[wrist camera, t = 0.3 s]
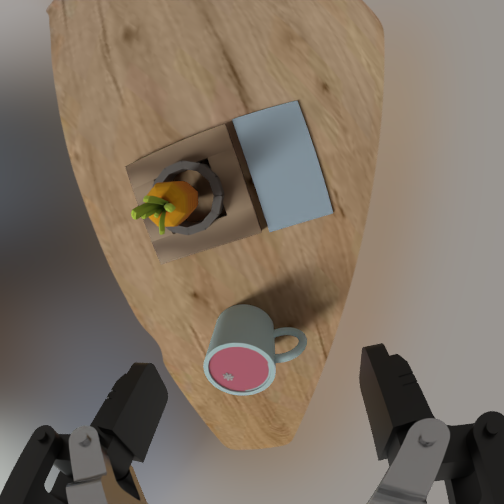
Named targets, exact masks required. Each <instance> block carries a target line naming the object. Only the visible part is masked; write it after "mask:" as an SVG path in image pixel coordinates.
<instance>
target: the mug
mask: <svg viewBox="0 0 504 504" xmlns="http://www.w3.org/2000/svg"><path fill="white" fill-rule="evenodd" d="M282 335H292V336H295V337H297V338H298V339H299V343H298V345H297V346H296V347H295V348H294V349H292V350H291V351H289V352H286V353H282V354H275V342H274V338H275V337H278V336H282ZM306 345H307V338H306V336H305V334H304V333H303V332H302V331H301V330H299V329H297V328H292V327H284V328H278V329H275V330H274V325H273V322H272V320H271V318H270V317H269V316H268V314H267V313H266V312H264V311H263V310H262V309H260V308H258V307H255V306H252V305H247V304H240V305H234V306H231V307H229V308H227V309H226V310H224V311H223V312H222V313H221V314H220V316H219V317H218V319H217V322H216V325H215V329H214V332H213V335H212V338H211V341H210V344H209V348H208V351H207V354H206V357H205V360H204V373H205V375H206V377H207V379H208V380H209V381H210V382H211V384H213V385H214V386H215V387H216V388H218V389H219V390H221V391H224V392H226V393H229V394H233V395H252V394H256V393H259V392H261V391H263V390H265V389H266V388H267V387H268V386H270V384H271V383H272V382H273V380H274V377H275V373H276V369H275V363H281V362H286V361H290V360H292V359H294V358H296V357H297V356H299V355H300V354H301V353H302V352H303V351H304V349H305V347H306Z"/></svg>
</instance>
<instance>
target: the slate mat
mask: <svg viewBox="0 0 504 504" xmlns="http://www.w3.org/2000/svg"><path fill="white" fill-rule="evenodd" d="M232 121H233V124H234V127H235V129H236V132H237V135H238V138H239V141H240V144H241V147H242V150H243V153H244V156H245V158H246V161H247V164H248V167H249V170H250V173H251V176H252V179H253V182H254V185H255V188H256V191H257V194H258V197H259V200H260V203H261V206H262V210H263V213H264V216H265V219H266V222H267V225H268V228H269V231H270V232H272V231H276V230H279V229H282V228H285V227H289V226H292V225H295V224H299V223H302V222H305V221H309V220H312V219H315V218H319V217H322V216H325V215H329V214H332V213H333V210H332V207H331V203H330V199H329V196H328V192H327V189H326V185H325V182H324V178H323V175H322V172H321V168H320V165H319V162H318V159H317V156H316V152H315V149H314V146H313V143H312V140H311V137H310V134H309V131H308V129H307V126H306V123H305V120H304V117H303V115H302V112H301V109H300V106H299V104H298V101H293V102H289V103H285V104H281V105H278V106H274V107H271V108H267V109H264V110H260V111H257V112H254V113H250V114H247V115H244V116H241V117H238V118H235V119H232Z"/></svg>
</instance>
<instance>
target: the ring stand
mask: <svg viewBox="0 0 504 504" xmlns="http://www.w3.org/2000/svg"><path fill="white" fill-rule="evenodd" d="M207 159H208V161H209V164H210V166H208V165H206V164H202V163H199V162H201V161H204V160H207ZM125 167H126V170H127V173H128V177H129V180H130V183H131V186H132V189H133V192H134V195H135V198H136V201H137V203H138V206H140V205H142V204H144V203H145V202H143V198H144V197H145V196H147V194H148V193H149V192H150V190H151V189H152V188H153V187H154V185H155V184H156V183H160V182H171V181H172V180H173V179H174V178H175V176H176V175H177V174H179V173H181V172H183V171H186V170H194V171H198V172H199V173H200V174H201V175H202V176H204V177H205V178H206V179H207V180H208V181H209V183H210V186H211V189H212V192H213V195H214V198H213V204H212V209H211V212H210V213H209V214H208V215H207V217H206V218H205V219H203V220H200V221H197V222H195V223H194V222H189V221H183V222H182V223H181V224H179V225H178V226H175V227H165V234H163V235H160V233H159V227H158V226H157V225H156V224H155V223H154V222H153V221H152V220H151V219H150V218H149V217H148V218H146V219H143V220H144V223H145V225H146V228H147V231H148V233H149V236H150V239H151V241H152V244H153V246H154V249H155V251H156V254H157V256H158V259H159V261H160V263H161V264H164V263H167V262H170V261H173V260H177V259H180V258H183V257H186V256H189V255H192V254H195V253H198V252H201V251H205V250H208V249H211V248H214V247H217V246H220V245H224V244H227V243H230V242H233V241H236V240H240V239H243V238H246V237H249V236H252V235H256V234H259V233H261V232H262V230H261V227H260V224H259V221H258V218H257V215H256V212H255V209H254V206H253V203H252V200H251V197H250V194H249V191H248V188H247V185H246V182H245V179H244V176H243V173H242V170H241V167H240V164H239V161H238V158H237V155H236V152H235V149H234V146H233V143H232V141H231V138H230V135H229V132H228V129H227V126H226V125H225V124H223V125H220V126H217V127H215V128H212V129H209V130H207V131H204V132H201V133H199V134H196V135H194V136H191V137H189V138H186V139H184V140H181V141H179V142H177V143H174V144H172V145H170V146H167V147H165V148H163V149H161V150H159V151H156V152H154V153H152V154H150V155H148V156H146V157H144V158H142V159H139V160H137V161H135V162H133V163H131V164H129V165H127V166H125ZM224 207H225V210H226V213H227V215H224V216H221V217H218V216H219V215H220V214H221V213H222V211H223V208H224ZM217 217H218V218H217Z"/></svg>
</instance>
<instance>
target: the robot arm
mask: <svg viewBox="0 0 504 504" xmlns="http://www.w3.org/2000/svg"><path fill="white" fill-rule="evenodd" d="M359 379H360V388H361V392H362V396H363V400H364V403H365V407H366V411H367V414H368V418H369V422H370V426H371V430H372V434H373V438H374V443H375V447H376V451H377V455H378V460H383V459H387V458H388V463H389V469H388V470H387V472H386V474H385V475H384V477H383V479H382V481H381V482H380V484H379V486H378V487H377V489H376V490H375V492H374V494H373V495H372V497H371V498H370V500H369V501H368V503H367V504H427V502H426V498H427V495H428V493H429V491H430V489H431V487H432V484H433V482H434V481H440V480H444V481H445V485H446V490H447V495H448V500H449V504H504V416H503V415H502V414H501V413H498V412H494V411H493V412H492V411H490V412H486V413H484V414H483V415H481V416H480V417H479V418H478V419H477V421H476V422H475V423H473V424H465V425H457V426H450V425H446V424H445V423H444V422H442V421H440V420H438V419H435V417H434V416H433V414H432V412H431V410H430V408H429V406H428V404H427V401H426V399H425V397H424V395H423V393H422V390H421V388H420V386H419V384H418V383H417V380H416V378H415V376H414V375H413V372H412V370H411V368H410V366H409V364H408V362H407V361H406V360H404V359H403V358H402V357H401V356H400V355H398V354H395V355H391V356H389V354H388V352H387V350H386V348H385V346H384V345H383V344H382V343H381V344H377V345H372V346H367V347H363V348H362V355H361V366H360V377H359ZM167 400H168V393H167V389H166V387H165V385H164V383H163V381H162V379H161V377H160V375H159V373H158V371H157V370H156V368H155V366H154V365H153V364H152V363H134V364H133V365H132V366H131V368H130V370H129V371H128V373H127V374H124V375H123V376H122V377H121V378H120V379H119V380H117V381H116V383H115V385H114V386H113V388H112V389H111V392H110V393H109V394H108V396H107V399H105V401H104V403H103V405H102V406H101V408H100V410H99V411H98V413H97V415H96V416H95V418H94V420H93V422H92V423H91V425H90V426H81V427H79V428H77V429H75V430H74V431H73V432H72V434H58V433H57V432H56V431H55V430H54V429H53V428H52V427H51V426H48V425H43V426H41V427H39V428H37V429H36V430H35V431H34V433H33V434H32V436H31V438H30V440H29V441H28V443H27V445H26V446H25V448H24V450H23V452H22V453H21V455H20V457H19V459H18V461H17V463H16V465H15V467H14V468H13V470H12V472H11V474H10V476H9V478H8V480H7V482H6V484H5V486H4V489H3V490H2V493H1V495H0V504H148V503H147V501H146V499H145V497H144V495H143V492H142V490H141V487H140V485H139V482H138V480H137V477H136V475H135V472H134V469H133V467H132V466H131V463H132V460H134V461H139V462H144V459H145V457H146V454H147V451H148V448H149V446H150V444H151V441H152V438H153V436H154V433H155V431H156V428H157V426H158V423H159V420H160V418H161V416H162V413H163V411H164V408H165V406H166V403H167ZM53 465H54V466H55V467H57V468H58V469H59V470H60V472H59V474H58V477H57V479H56V481H55V484H54V486H53V488H52V490H51V492H50V493H48V492H47V491H46V490H45V487H44V483H45V481H46V478H47V476H48V474H49V472H50V470H51V468H52V466H53Z"/></svg>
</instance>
